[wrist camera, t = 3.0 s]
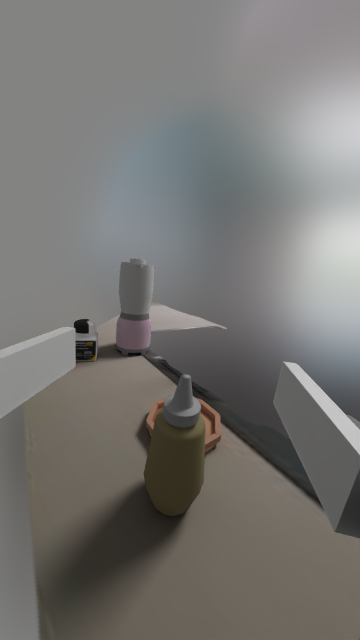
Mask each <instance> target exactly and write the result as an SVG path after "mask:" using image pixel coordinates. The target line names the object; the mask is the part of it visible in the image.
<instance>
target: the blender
mask: <svg viewBox="0 0 360 640" xmlns="http://www.w3.org/2000/svg"><path fill="white" fill-rule="evenodd" d="M153 283H154V266H153V265H146V261H145V260H139V259H130V263H127V262H122V263H121V270H120V282H119V296H120V304H121V314H120V317H119V318H118V321H117V329H116V348H117V349H118V350H120V351H122V355H126V356H127V355H128V353H140V352H141V355H144V354H146V351H147V350H148V349H149V348H150V335H151V321H150V318H149V308H150V304H151V299H152V294H153Z"/></svg>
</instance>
